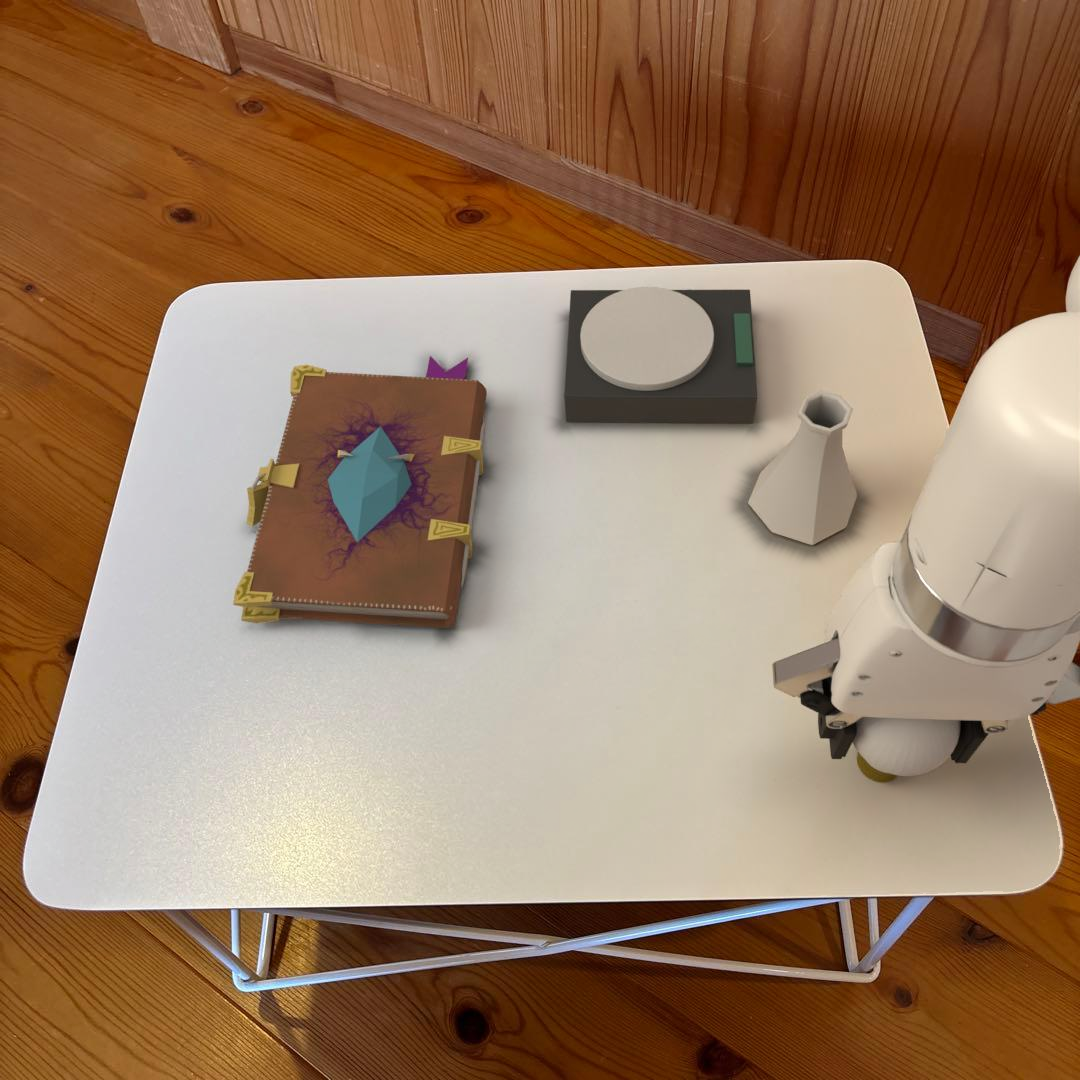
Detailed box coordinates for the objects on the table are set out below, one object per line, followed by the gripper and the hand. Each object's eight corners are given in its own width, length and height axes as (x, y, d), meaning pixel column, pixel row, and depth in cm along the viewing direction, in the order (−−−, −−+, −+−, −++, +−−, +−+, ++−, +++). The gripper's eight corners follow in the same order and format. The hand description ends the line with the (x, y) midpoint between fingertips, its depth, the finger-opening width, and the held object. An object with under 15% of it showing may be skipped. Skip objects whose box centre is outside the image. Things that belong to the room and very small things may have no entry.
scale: (746, 316, 83) (751, 281, 80) (753, 423, 78) (758, 389, 74) (572, 317, 85) (570, 282, 81) (565, 422, 79) (563, 389, 76)
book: (497, 367, 83) (494, 322, 79) (462, 643, 70) (456, 607, 66) (296, 357, 84) (283, 312, 80) (223, 627, 71) (203, 591, 67)
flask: (729, 506, 74) (743, 416, 65) (789, 444, 76) (811, 350, 68) (815, 563, 71) (841, 476, 62) (874, 496, 73) (908, 404, 65)
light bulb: (808, 744, 64) (836, 673, 55) (890, 706, 65) (930, 631, 56) (861, 830, 61) (899, 769, 52) (947, 789, 62) (998, 723, 53)
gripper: (1180, 501, 45) (1038, 679, 60) (775, 496, 46) (736, 671, 61) (1232, 658, 41) (1066, 807, 56) (786, 647, 42) (742, 795, 57)
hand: (894, 735), depth 59 cm, fingers closed on light bulb, 5 cm apart
